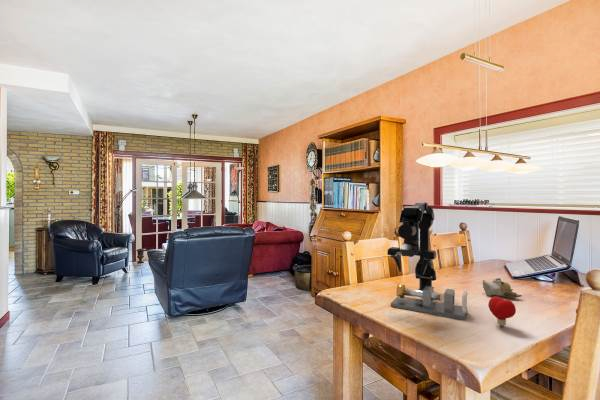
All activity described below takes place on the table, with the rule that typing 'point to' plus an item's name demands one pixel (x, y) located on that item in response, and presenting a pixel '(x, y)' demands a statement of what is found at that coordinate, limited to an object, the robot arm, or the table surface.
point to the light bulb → (501, 309)
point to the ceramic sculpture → (499, 288)
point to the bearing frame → (434, 304)
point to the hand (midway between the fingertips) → (411, 273)
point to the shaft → (414, 293)
